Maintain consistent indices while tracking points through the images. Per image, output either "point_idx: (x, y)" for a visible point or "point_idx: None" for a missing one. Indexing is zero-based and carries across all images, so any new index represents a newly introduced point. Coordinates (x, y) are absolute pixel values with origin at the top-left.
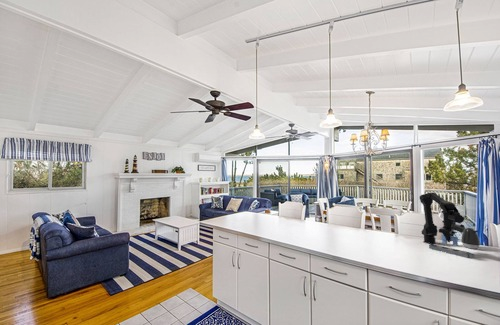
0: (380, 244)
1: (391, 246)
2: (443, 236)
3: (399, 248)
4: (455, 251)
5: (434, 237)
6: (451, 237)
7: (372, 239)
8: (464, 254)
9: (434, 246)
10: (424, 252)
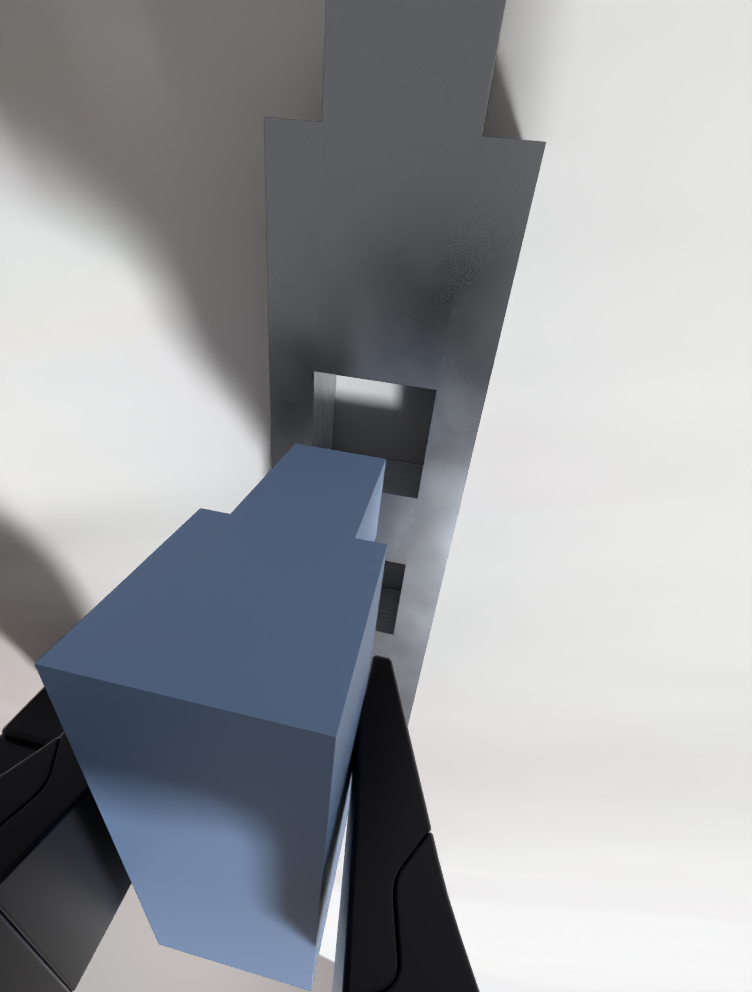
0: (647, 967)
1: (654, 924)
2: (326, 914)
3: (688, 889)
4: (475, 429)
5: (3, 738)
6: (335, 821)
7: (502, 980)
8: (522, 233)
9: (404, 699)
10: (686, 733)
